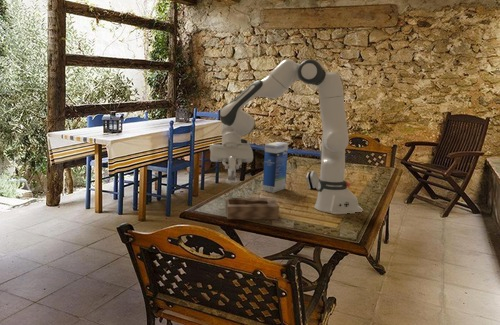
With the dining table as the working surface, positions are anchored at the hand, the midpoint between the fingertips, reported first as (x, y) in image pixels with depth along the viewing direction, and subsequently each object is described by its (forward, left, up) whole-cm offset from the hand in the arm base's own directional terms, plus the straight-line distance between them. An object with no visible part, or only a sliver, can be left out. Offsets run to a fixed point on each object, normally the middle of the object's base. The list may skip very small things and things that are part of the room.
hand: (232, 168), depth 197 cm
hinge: (-52, -42, -19) cm, 69 cm away
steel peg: (0, -1, -7) cm, 7 cm away
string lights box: (-27, -33, -18) cm, 46 cm away
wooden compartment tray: (-8, +12, -18) cm, 23 cm away
